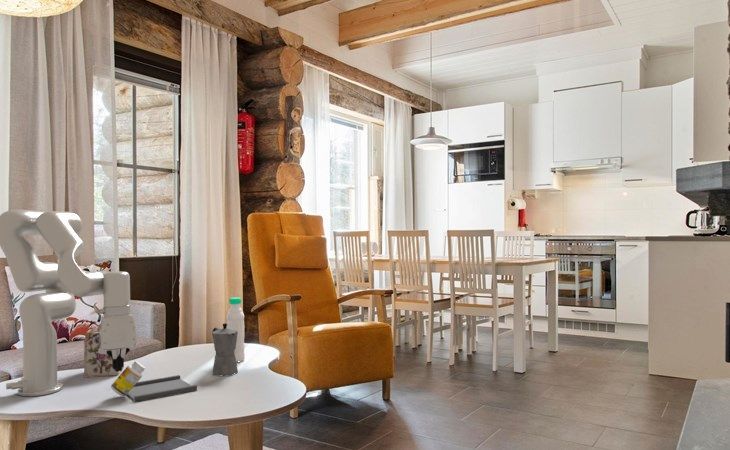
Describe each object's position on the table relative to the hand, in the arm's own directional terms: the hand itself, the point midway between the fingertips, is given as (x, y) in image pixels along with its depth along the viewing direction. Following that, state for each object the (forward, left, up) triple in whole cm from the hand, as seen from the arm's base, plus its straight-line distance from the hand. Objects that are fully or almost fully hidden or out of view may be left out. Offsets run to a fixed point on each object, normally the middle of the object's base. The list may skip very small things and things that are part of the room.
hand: (118, 370), depth 170 cm
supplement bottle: (0, 0, -7) cm, 7 cm away
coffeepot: (+38, +8, -9) cm, 40 cm away
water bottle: (+49, +22, -9) cm, 55 cm away
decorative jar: (+4, +36, -9) cm, 38 cm away
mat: (+13, +1, -9) cm, 15 cm away
